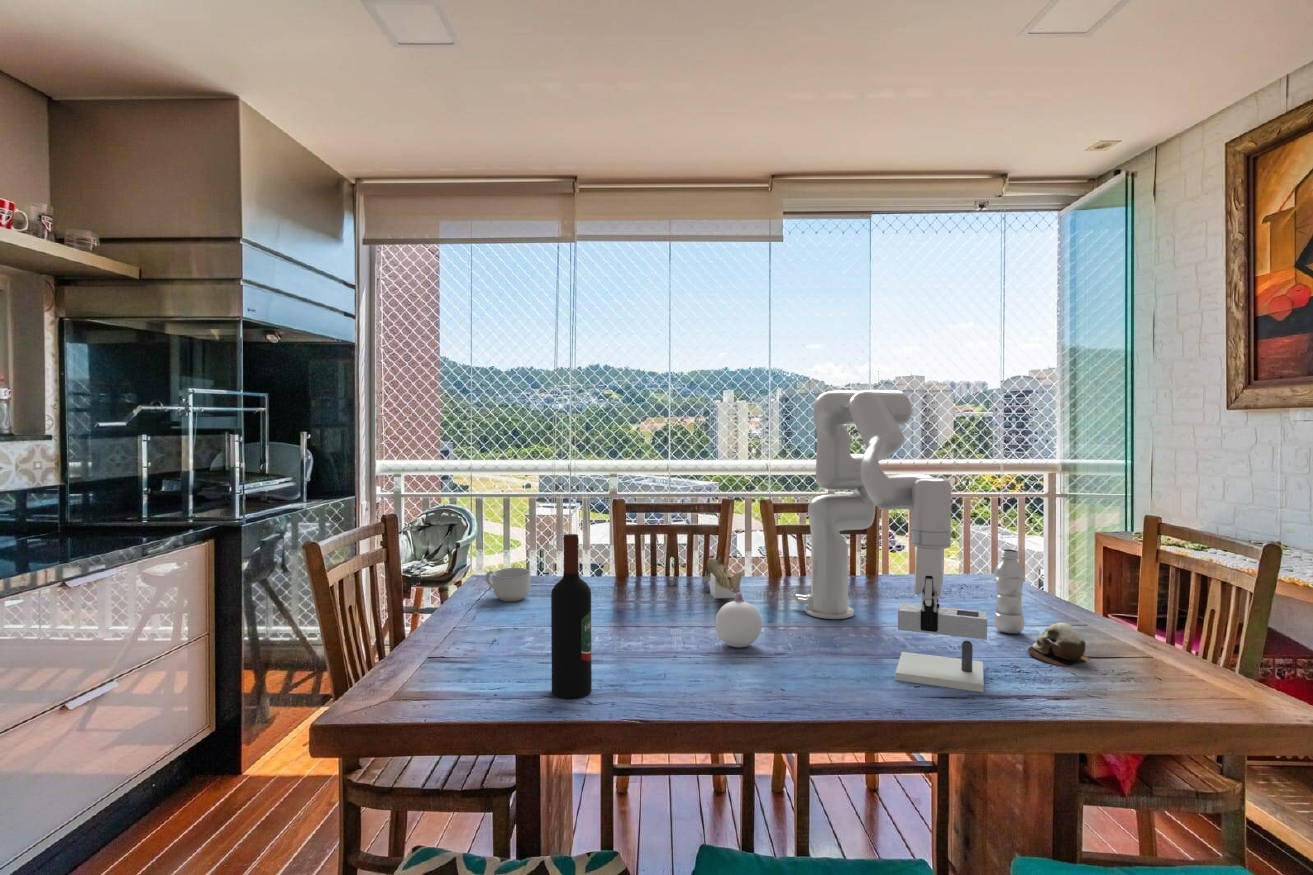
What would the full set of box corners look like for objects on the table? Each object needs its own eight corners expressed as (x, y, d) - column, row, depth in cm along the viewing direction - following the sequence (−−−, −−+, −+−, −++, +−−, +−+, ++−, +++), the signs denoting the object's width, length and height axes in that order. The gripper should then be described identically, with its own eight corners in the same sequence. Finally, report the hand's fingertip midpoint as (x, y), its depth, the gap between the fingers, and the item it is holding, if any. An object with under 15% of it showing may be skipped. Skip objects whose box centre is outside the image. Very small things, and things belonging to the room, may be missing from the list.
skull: (1012, 649, 160) (1033, 611, 163) (1036, 675, 164) (1056, 637, 166) (1063, 664, 149) (1084, 623, 152) (1087, 692, 153) (1108, 651, 156)
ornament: (735, 636, 173) (735, 586, 172) (770, 646, 166) (770, 594, 165) (706, 646, 166) (706, 593, 165) (741, 656, 158) (742, 602, 158)
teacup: (538, 597, 210) (538, 570, 210) (512, 605, 201) (512, 577, 201) (503, 591, 217) (503, 564, 217) (476, 599, 208) (476, 571, 208)
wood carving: (723, 614, 192) (723, 572, 192) (697, 584, 227) (697, 548, 226) (756, 613, 193) (756, 571, 193) (725, 583, 228) (725, 547, 228)
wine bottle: (552, 684, 142) (552, 532, 141) (591, 683, 142) (591, 531, 142) (550, 699, 134) (549, 538, 133) (591, 698, 135) (590, 538, 134)
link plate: (897, 629, 148) (898, 610, 147) (900, 622, 153) (900, 603, 153) (986, 639, 141) (987, 619, 141) (986, 631, 146) (986, 611, 146)
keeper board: (895, 680, 144) (895, 642, 144) (901, 658, 157) (902, 624, 157) (983, 692, 138) (983, 653, 138) (982, 668, 151) (983, 633, 150)
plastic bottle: (1027, 637, 172) (1029, 553, 171) (997, 635, 173) (998, 552, 172) (1020, 629, 178) (1021, 548, 177) (990, 628, 179) (991, 547, 179)
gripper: (914, 531, 157) (913, 613, 157) (907, 544, 141) (906, 636, 141) (952, 533, 154) (951, 617, 154) (949, 546, 138) (948, 640, 138)
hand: (930, 625), depth 148 cm, fingers closed on link plate, 6 cm apart
